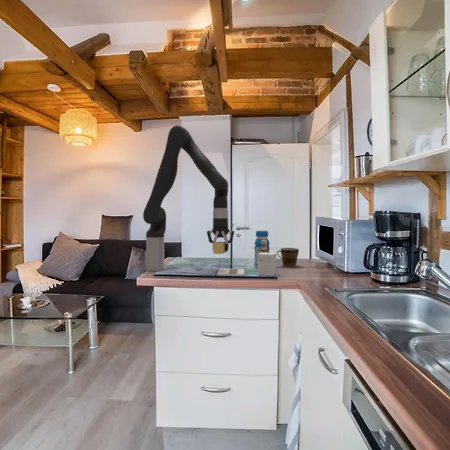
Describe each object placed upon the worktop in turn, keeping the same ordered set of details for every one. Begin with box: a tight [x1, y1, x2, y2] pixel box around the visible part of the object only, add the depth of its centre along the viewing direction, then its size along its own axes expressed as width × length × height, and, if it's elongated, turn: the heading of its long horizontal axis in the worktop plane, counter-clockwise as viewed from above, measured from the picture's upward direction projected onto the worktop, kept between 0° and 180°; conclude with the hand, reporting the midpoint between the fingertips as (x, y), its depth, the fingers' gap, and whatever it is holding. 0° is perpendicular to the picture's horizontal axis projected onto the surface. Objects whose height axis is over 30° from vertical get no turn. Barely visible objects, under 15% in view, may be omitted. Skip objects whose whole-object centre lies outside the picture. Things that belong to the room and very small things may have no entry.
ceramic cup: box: [276, 247, 300, 269], centre depth 167 cm, size 13×10×10 cm
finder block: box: [212, 241, 229, 255], centre depth 150 cm, size 5×9×5 cm, turn 162°
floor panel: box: [216, 268, 246, 277], centre depth 150 cm, size 13×12×1 cm
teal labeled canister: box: [253, 230, 271, 269], centre depth 166 cm, size 8×8×20 cm
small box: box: [257, 252, 277, 277], centre depth 146 cm, size 8×6×10 cm
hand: (220, 251), depth 150 cm, fingers closed on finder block, 5 cm apart
